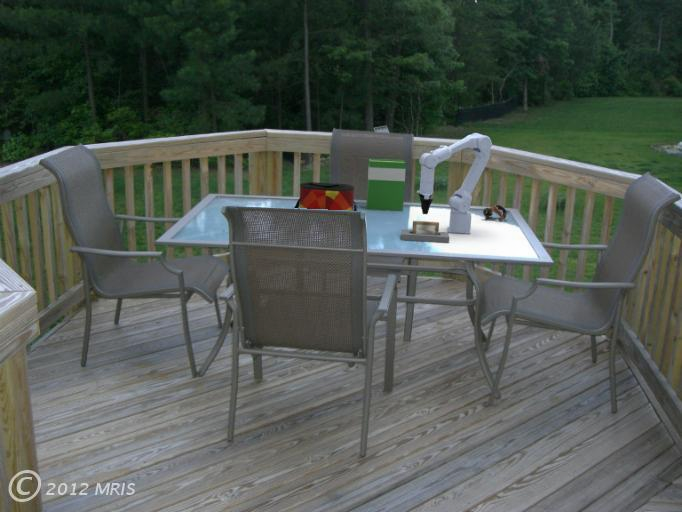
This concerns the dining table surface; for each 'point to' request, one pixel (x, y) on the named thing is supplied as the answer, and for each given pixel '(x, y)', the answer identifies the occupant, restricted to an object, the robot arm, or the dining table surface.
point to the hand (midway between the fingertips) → (424, 212)
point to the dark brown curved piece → (490, 210)
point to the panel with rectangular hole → (425, 237)
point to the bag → (326, 196)
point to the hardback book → (386, 184)
